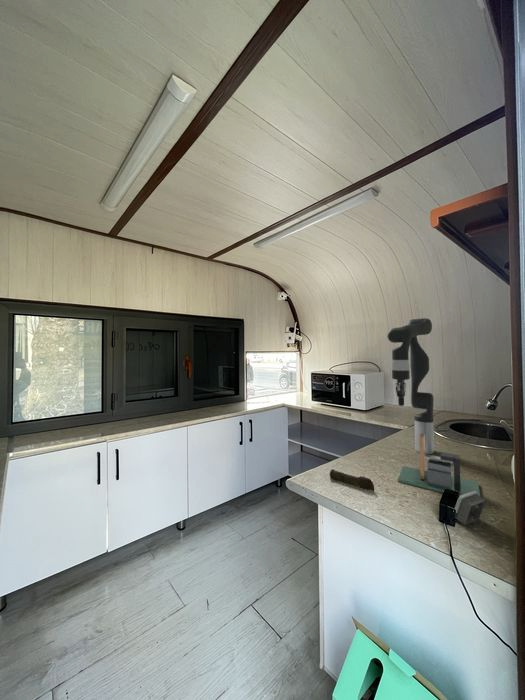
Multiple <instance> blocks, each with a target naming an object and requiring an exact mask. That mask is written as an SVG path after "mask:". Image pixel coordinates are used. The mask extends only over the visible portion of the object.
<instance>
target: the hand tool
mask: <svg viewBox="0 0 525 700" xmlns="http://www.w3.org/2000/svg"><path fill="white" fill-rule="evenodd" d="M329 478H330V479H331V478H332V480H338V481H340V482H343V483H347V484H350V485H354V486H357V487H358V488H359V489H361V488H362V489H361V490H365V489H366V491H370V490H371V491H372V492H373V491H375V486H374V482H373V481H372V480H371V478H368V477H366V476H359V477H358V476H355V475H352V474H347V473H345V472H341V471H338V470H335V469H331V470H330V472H329Z"/></svg>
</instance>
